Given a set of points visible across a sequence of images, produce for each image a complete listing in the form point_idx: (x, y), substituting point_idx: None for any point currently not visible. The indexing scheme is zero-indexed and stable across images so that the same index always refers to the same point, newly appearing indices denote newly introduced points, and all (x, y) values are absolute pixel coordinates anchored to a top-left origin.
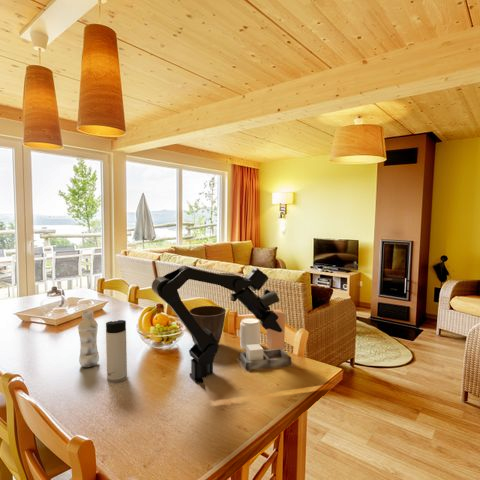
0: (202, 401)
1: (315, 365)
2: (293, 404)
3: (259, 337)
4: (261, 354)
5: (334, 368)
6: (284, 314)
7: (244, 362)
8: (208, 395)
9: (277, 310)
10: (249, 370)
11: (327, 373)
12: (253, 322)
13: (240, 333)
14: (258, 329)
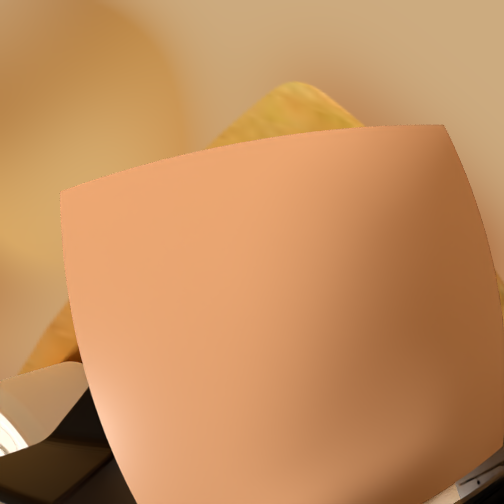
0: (454, 496)
1: (264, 134)
2: (496, 278)
3: (62, 380)
4: None
5: (287, 83)
6: (440, 148)
7: None
8: (437, 497)
9: (135, 291)
10: None
11: (329, 115)
12: (11, 444)
13: None
14: (45, 405)
